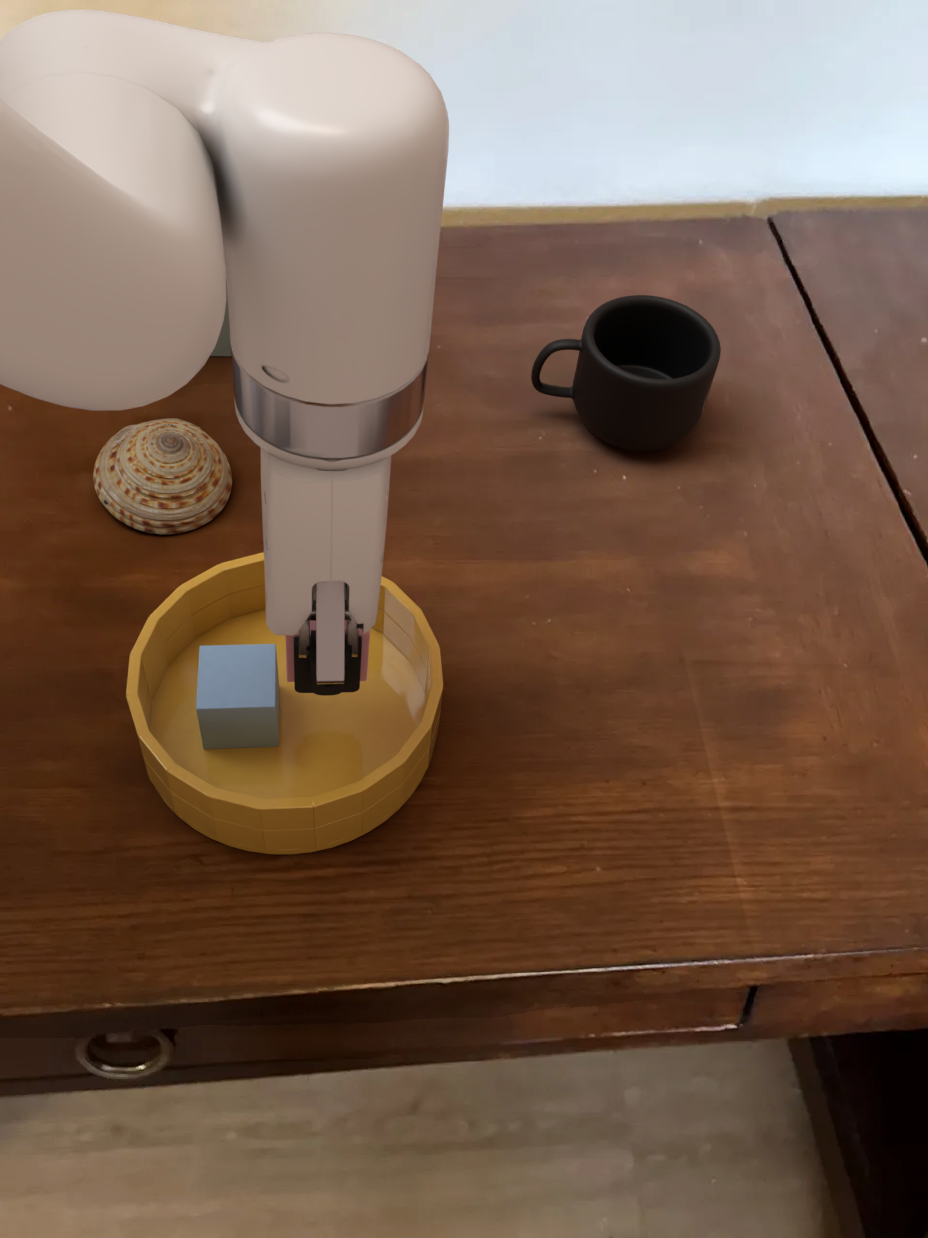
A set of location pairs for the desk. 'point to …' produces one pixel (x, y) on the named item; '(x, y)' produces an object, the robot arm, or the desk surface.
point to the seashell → (163, 476)
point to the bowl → (284, 721)
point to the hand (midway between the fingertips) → (326, 647)
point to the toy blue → (238, 696)
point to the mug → (639, 371)
